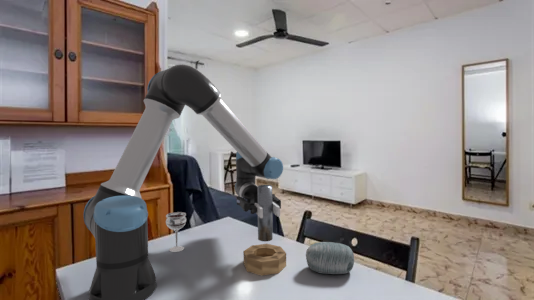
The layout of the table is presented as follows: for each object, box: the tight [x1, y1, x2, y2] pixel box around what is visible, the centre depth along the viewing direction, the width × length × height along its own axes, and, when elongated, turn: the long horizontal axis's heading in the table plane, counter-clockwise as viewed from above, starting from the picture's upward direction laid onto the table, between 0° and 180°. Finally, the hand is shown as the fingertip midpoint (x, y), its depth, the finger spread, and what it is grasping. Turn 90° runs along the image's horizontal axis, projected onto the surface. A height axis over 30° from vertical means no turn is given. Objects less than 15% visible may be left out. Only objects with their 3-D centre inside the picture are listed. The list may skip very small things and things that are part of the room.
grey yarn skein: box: [305, 241, 355, 275], centre depth 82 cm, size 14×10×10 cm
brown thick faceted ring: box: [243, 243, 287, 277], centre depth 86 cm, size 12×12×4 cm
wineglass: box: [165, 211, 187, 253], centre depth 98 cm, size 7×7×12 cm
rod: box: [257, 184, 274, 242], centre depth 85 cm, size 4×4×16 cm
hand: (270, 212), depth 80 cm, fingers closed on rod, 4 cm apart
